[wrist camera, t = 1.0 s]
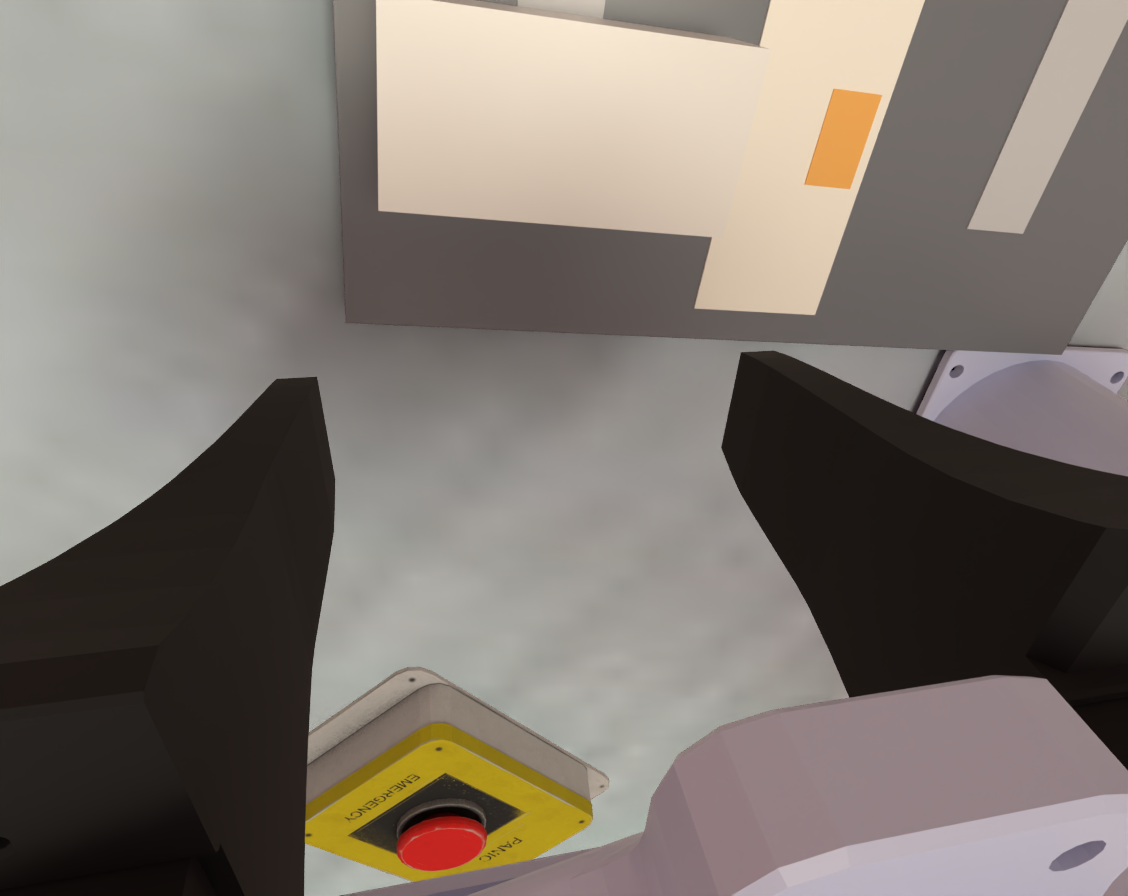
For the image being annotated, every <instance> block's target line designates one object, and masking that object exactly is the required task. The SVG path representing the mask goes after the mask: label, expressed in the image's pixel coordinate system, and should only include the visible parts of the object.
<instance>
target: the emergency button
mask: <svg viewBox="0 0 1128 896" xmlns="http://www.w3.org/2000/svg"><path fill="white" fill-rule="evenodd" d="M608 787H609V778H608V777H607V776H606V775H605V774H604V773H602V772H601V771H599V770H597V769H596V768H594V767H592V766H591V765H589V764H587V763H586V762H584V761H582V760H581V759H579V758H577V757H576V756H574V755H572V754H571V753H569V752H567V751H565V750H564V749H562V748H560V747H559V746H557V745H555V744H554V743H552V742H550V741H549V740H547V739H545V738H544V737H542V736H540V735H539V734H537V733H535V732H534V731H532V730H530V729H529V728H527V727H525V726H523V725H522V724H520V723H518V722H517V721H515V720H513V719H512V718H510V717H508V716H507V715H505V714H503V713H502V712H500V711H498V710H497V709H495V708H493V707H492V706H490V705H488V704H487V703H485V702H483V701H482V700H480V699H478V698H476V697H475V696H473V695H471V694H470V693H468V692H466V691H465V690H463V689H461V688H460V687H458V686H456V685H455V684H453V683H451V682H450V681H448V680H446V679H445V678H443V677H441V676H440V675H438V674H436V673H435V672H433V671H431V670H428V669H425V668H422V667H407V668H404V669H402V670H399V671H397V672H395V673H394V674H392V675H391V676H389V677H388V678H387V679H385V680H384V681H382V682H381V683H379V684H378V685H377V686H375V687H374V688H372V689H371V690H369V691H368V692H367V693H365V694H364V695H362V696H361V697H359V698H358V699H357V700H355V701H354V702H352V703H351V704H349V705H348V706H347V707H345V708H344V709H342V710H341V711H339V712H338V713H337V714H335V715H334V716H332V717H331V718H329V719H328V720H327V721H325V722H324V723H322V724H321V725H319V726H318V727H317V728H315V729H314V730H312V731H311V732H309V735H308V759H307V784H306V819H305V843H306V844H309V845H311V846H314V847H317V848H320V849H323V850H325V851H328V852H331V853H334V854H336V855H339V856H342V857H345V858H348V859H350V860H353V861H356V862H359V863H361V864H364V865H367V866H370V867H373V868H375V869H378V870H381V871H384V872H386V873H389V874H392V875H395V876H398V877H400V878H403V879H406V880H409V881H411V882H416V881H421V880H426V879H432V878H437V877H442V876H448V875H453V874H458V873H464V872H469V871H474V870H480V869H485V868H490V867H496V866H501V865H506V864H512V863H517V862H522V861H528V860H532V859H534V858H535V857H537V856H539V855H541V854H542V853H544V852H546V851H548V850H549V849H551V848H553V847H554V846H556V845H558V844H560V843H561V842H563V841H565V840H567V839H568V838H570V837H572V836H573V835H575V834H577V833H579V832H580V831H582V830H584V829H585V828H587V827H588V826H589V825H590V824H591V822H592V820H593V813H592V804H591V799H593V798H594V797H596V796H598V795H600V794H601V793H603V792H604V791H605V790H606V789H607V788H608Z"/></svg>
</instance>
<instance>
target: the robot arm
mask: <svg viewBox="0 0 1128 896" xmlns="http://www.w3.org/2000/svg"><path fill="white" fill-rule="evenodd" d="M955 366H956V367H955ZM953 367H955V369H954V370H953V371H951V370H952V368H953ZM950 371H951V372H950ZM1127 377H1128V350H1126V349H1111V348H1090V347H1069V346H1067V347H1066V348H1065V350H1064V352H1063V354H1062V355H1050V354H1028V353H1005V352H983V351H961V350H947V351H946V352H945V354H944V356H943V358H942V360H941V362H940V364H939V366H938V369H937V371H936V373H935V375H934V377H933V379H932V381H931V383H930V386H929V388H928V390H927V392H926V394H925V396H924V398H923V400H922V402H921V405H920V407H919V409H918V411H917V413H916V414H915V413H912V412H910V411H908V410H905V409H903V408H901V407H898V406H896V405H894V404H892V403H889V402H887V401H885V400H883V399H880V398H878V397H876V396H874V395H872V394H870V393H868V392H865V391H863V390H861V389H859V388H857V387H855V386H853V385H851V384H849V383H847V382H844V381H842V380H840V379H838V378H836V377H834V376H832V375H830V374H828V373H826V372H824V371H821V370H819V369H817V368H815V367H813V366H811V365H809V364H806V363H804V362H802V361H800V360H797V359H795V358H792V357H790V356H787V355H785V354H782V353H779V352H776V351H759V352H742V353H741V355H740V360H739V365H738V370H737V375H736V380H735V384H734V389H733V394H732V399H731V404H730V408H729V413H728V418H727V423H726V428H725V433H724V437H723V442H722V447H721V448H722V450H723V453H724V455H725V458H726V461H727V463H728V466H729V468H730V471H731V473H732V476H733V478H734V480H735V482H736V485H737V487H738V489H739V491H740V493H741V495H742V497H743V498H744V500H745V502H746V504H747V505H748V507H749V509H750V510H751V512H752V514H753V515H754V517H755V518H756V520H757V522H758V523H759V525H760V527H761V528H762V530H763V532H764V533H765V535H766V536H767V538H768V540H769V541H770V543H771V544H772V546H773V548H774V549H775V551H776V552H777V554H778V556H779V557H780V559H781V561H782V562H783V564H784V565H785V567H786V569H787V570H788V572H789V573H790V575H791V577H792V578H793V580H794V581H795V583H796V585H797V586H798V588H799V590H800V592H801V594H802V595H803V597H804V599H805V601H806V603H807V604H808V606H809V608H810V610H811V613H812V615H813V617H814V619H815V621H816V623H817V625H818V628H819V630H820V632H821V634H822V636H823V638H824V640H825V642H826V645H827V647H828V649H829V651H830V653H831V656H832V658H833V660H834V663H835V665H836V667H837V670H838V672H839V674H840V677H841V679H842V681H843V684H844V686H845V688H846V691H847V693H848V695H849V698H845V699H838V700H832V701H826V702H819V703H813V704H807V705H800V706H794V707H788V708H782V709H775V710H770V711H767V712H764V713H761V714H758V715H754V716H751V717H748V718H745V719H742V720H739V721H735V722H732V723H729V724H726V725H723V726H720V727H718V728H717V729H715V730H714V731H712V732H711V733H709V734H708V735H706V736H705V737H703V738H702V739H700V740H699V741H697V742H696V743H695V744H693V745H692V746H690V747H689V748H687V749H686V750H684V751H683V752H681V753H680V754H678V756H677V757H676V759H675V760H674V762H673V764H672V765H671V767H670V768H669V770H668V771H667V773H666V775H665V776H664V778H663V779H662V781H661V782H660V784H659V786H658V787H657V789H656V791H655V793H654V794H653V796H652V798H651V803H650V808H649V812H648V817H647V822H646V826H645V831H644V832H641V833H638V834H635V835H632V836H629V837H626V838H624V839H621V840H618V841H615V842H613V843H610V844H607V845H604V846H602V847H597V848H592V849H586V850H581V851H576V852H570V853H565V854H560V855H554V856H549V857H544V858H538V859H533V860H528V861H522V862H517V863H512V864H506V865H501V866H496V867H490V868H485V869H480V870H474V871H469V872H464V873H458V874H453V875H448V876H442V877H437V878H432V879H426V880H421V881H416V882H410V883H405V884H400V885H394V886H389V887H384V888H378V889H373V890H368V891H362V892H357V893H352V894H346V895H341V896H1128V401H1127V400H1125V399H1124V398H1122V397H1120V396H1119V395H1117V393H1118V391H1119V389H1120V388H1121V386H1122V385H1123V383H1124V382H1125V380H1126V379H1127ZM334 511H335V476H334V471H333V465H332V459H331V454H330V448H329V442H328V437H327V431H326V425H325V420H324V414H323V408H322V403H321V397H320V392H319V386H318V380H317V377H306V378H288V379H276V380H275V381H274V382H273V383H272V384H271V385H270V386H269V387H268V388H267V389H266V390H265V391H264V392H263V394H262V395H261V396H260V397H259V398H258V399H257V400H256V401H255V402H254V403H253V404H252V405H251V406H250V407H249V408H248V409H247V410H246V411H245V412H244V413H243V414H242V416H241V417H240V418H239V419H238V420H237V421H236V422H235V423H234V424H233V425H232V426H231V427H230V428H229V429H228V430H227V431H226V432H225V433H224V434H223V435H222V436H221V437H220V438H219V439H218V440H217V441H216V442H215V443H214V444H212V445H211V446H210V447H209V448H208V449H207V450H206V451H204V452H203V453H202V454H201V455H200V456H199V457H198V458H197V459H195V460H194V461H193V462H192V463H191V464H190V465H189V466H188V467H186V468H185V469H184V470H183V471H182V472H181V473H180V474H178V475H177V476H176V477H175V478H174V479H173V480H171V481H170V482H169V483H168V484H166V485H165V486H164V487H163V488H161V489H160V490H159V491H157V492H156V493H155V494H153V495H152V496H151V497H149V498H148V499H147V500H145V501H144V502H142V503H141V504H140V505H138V506H137V507H135V508H134V509H132V510H131V511H130V512H128V513H127V514H125V515H124V516H123V517H121V518H120V519H118V520H117V521H115V522H113V523H112V524H110V525H109V526H107V527H105V528H104V529H102V530H100V531H99V532H97V533H95V534H94V535H92V536H90V537H89V538H87V539H85V540H84V541H82V542H80V543H79V544H77V545H76V546H74V547H72V548H71V549H69V550H67V551H66V552H64V553H62V554H61V555H59V556H57V557H56V558H54V559H52V560H50V561H48V562H47V563H45V564H43V565H41V566H39V567H37V568H35V569H33V570H31V571H29V572H28V573H26V574H24V575H22V576H20V577H18V578H16V579H14V580H12V581H10V582H8V583H6V584H4V585H2V586H0V896H304V857H305V819H306V784H307V759H308V735H309V714H310V695H311V677H312V665H313V657H314V648H315V641H316V635H317V629H318V623H319V618H320V612H321V606H322V600H323V594H324V588H325V582H326V576H327V570H328V564H329V558H330V552H331V546H332V539H333V533H334Z"/></svg>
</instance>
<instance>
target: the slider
mask: <svg viewBox="0 0 1128 896" xmlns="http://www.w3.org/2000/svg"><path fill="white" fill-rule="evenodd" d="M376 43H377V132H378V211H387V212H399V213H412V214H425V215H437V216H450V217H463V218H476V219H488V220H501V221H514V222H526V223H539V224H552V225H564V226H577V227H590V228H602V229H615V230H628V231H640V232H653V233H666V234H678V235H691V236H704V237H716V238H723V235H724V232H725V228H726V224H727V220H728V216H729V212H730V208H731V204H732V200H733V196H734V193H735V189H736V185H737V181H738V177H739V173H740V169H741V165H742V161H743V158H744V154H745V150H746V146H747V142H748V138H749V134H750V130H751V126H752V122H753V119H754V115H755V111H756V107H757V103H758V99H759V95H760V91H761V87H762V84H763V80H764V76H765V72H766V68H767V64H768V60H769V56H770V52H771V49H769V48H765V47H761V46H758V45H754V44H751V43H747V42H744V41H740V40H736V39H733V38H729V37H724V36H717V35H710V34H703V33H696V32H689V31H683V30H676V29H669V28H662V27H655V26H648V25H642V24H635V23H628V22H621V21H614V20H607V19H601V18H594V17H587V16H580V15H573V14H566V13H559V12H553V11H546V10H539V9H532V8H525V7H518V6H512V5H505V4H498V3H491V2H484V1H477V0H376Z"/></svg>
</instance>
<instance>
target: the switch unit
mask: <svg viewBox="0 0 1128 896" xmlns="http://www.w3.org/2000/svg"><path fill="white" fill-rule="evenodd" d="M477 1H484V2H491V3H498V4H505V5H512V6H518V7H525V8H532V9H539V10H546V11H553V12H559V13H566V14H573V15H580V16H587V17H594V18H601V19H607V20H614V21H621V22H628V23H635V24H642V25H648V26H655V27H662V28H669V29H676V30H683V31H689V32H696V33H703V34H710V35H717V36H724V37H729V38H733V39H736V40H740V41H744V42H747V43H751V44H754V45H758V46H761V47H765V48H769V49H771V52H770V56H769V60H768V64H767V68H766V72H765V76H764V80H763V84H762V87H761V91H760V95H759V99H758V103H757V107H756V111H755V115H754V119H753V122H752V126H751V130H750V134H749V138H748V142H747V146H746V150H745V154H744V158H743V161H742V165H741V169H740V173H739V177H738V181H737V185H736V189H735V193H734V196H733V200H732V204H731V208H730V212H729V216H728V220H727V224H726V228H725V232H724V235H723V238H716V237H704V236H691V235H678V234H666V233H653V232H640V231H628V230H615V229H602V228H590V227H577V226H564V225H552V224H539V223H526V222H514V221H501V220H488V219H476V218H463V217H450V216H437V215H425V214H412V213H399V212H387V211H378V132H377V43H376V0H333V9H334V35H335V60H336V85H337V111H338V136H339V162H340V187H341V212H342V238H343V263H344V289H345V314H346V323H360V324H383V325H405V326H427V327H449V328H472V329H494V330H516V331H538V332H561V333H583V334H605V335H627V336H649V337H672V338H694V339H716V340H738V341H761V342H783V343H805V344H827V345H850V346H872V347H894V348H916V349H939V350H961V351H983V352H1005V353H1028V354H1050V355H1062V354H1063V352H1064V350H1065V348H1066V347H1067V345H1068V343H1069V341H1070V340H1071V338H1072V336H1073V334H1074V333H1075V331H1076V329H1077V327H1078V326H1079V324H1080V322H1081V321H1082V319H1083V317H1084V315H1085V314H1086V312H1087V310H1088V308H1089V307H1090V305H1091V303H1092V301H1093V300H1094V298H1095V296H1096V294H1097V293H1098V291H1099V289H1100V287H1101V286H1102V284H1103V282H1104V280H1105V279H1106V277H1107V275H1108V273H1109V272H1110V270H1111V268H1112V266H1113V265H1114V263H1115V261H1116V259H1117V258H1118V256H1119V254H1120V252H1121V251H1122V249H1123V247H1124V245H1125V244H1126V242H1127V240H1128V0H477Z"/></svg>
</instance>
